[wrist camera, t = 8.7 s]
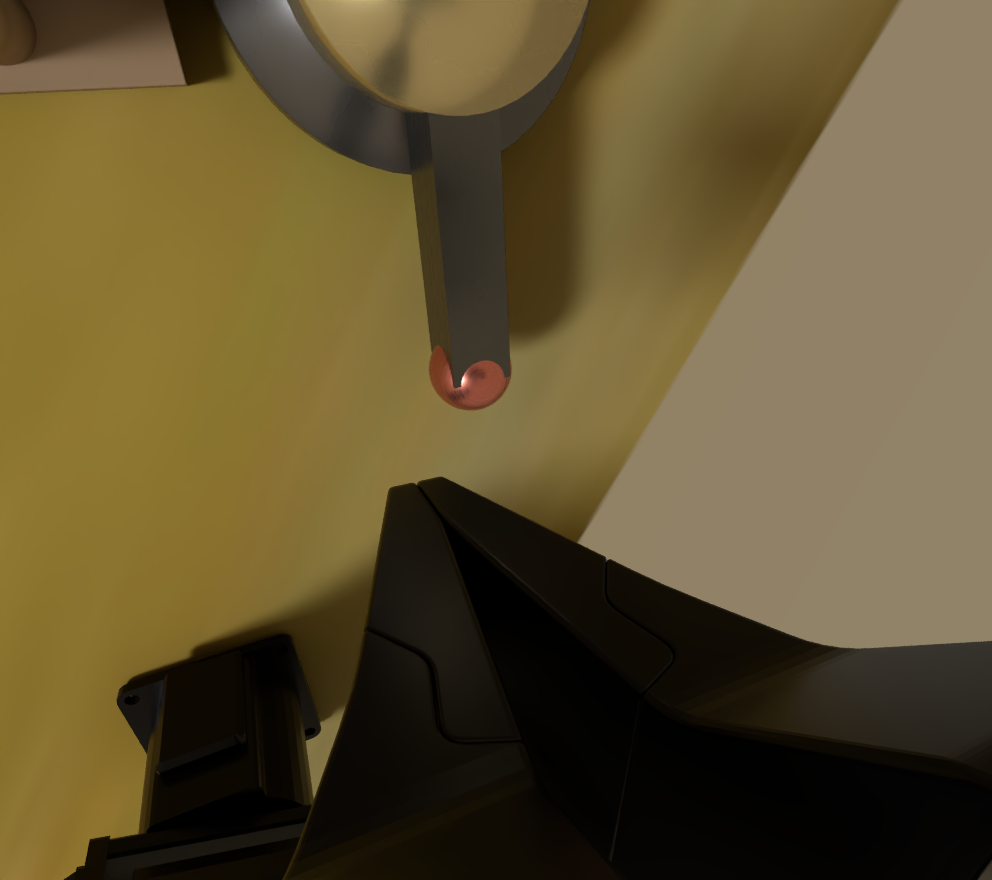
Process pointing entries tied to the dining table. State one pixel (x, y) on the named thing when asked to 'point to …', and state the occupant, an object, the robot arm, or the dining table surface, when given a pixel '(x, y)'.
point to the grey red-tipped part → (451, 148)
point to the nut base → (348, 87)
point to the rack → (86, 46)
